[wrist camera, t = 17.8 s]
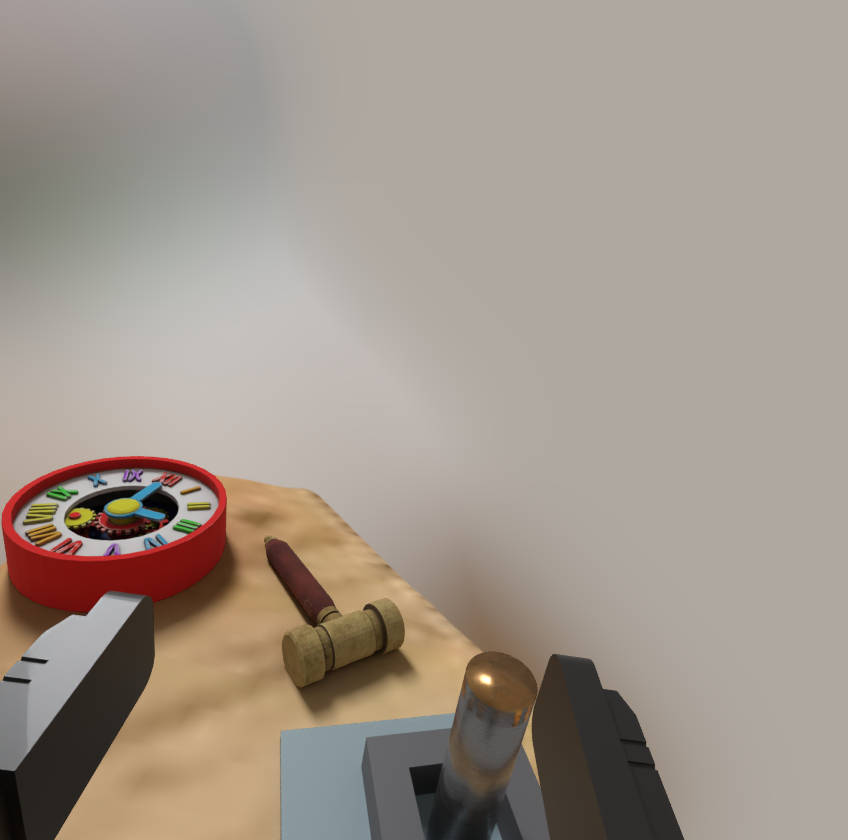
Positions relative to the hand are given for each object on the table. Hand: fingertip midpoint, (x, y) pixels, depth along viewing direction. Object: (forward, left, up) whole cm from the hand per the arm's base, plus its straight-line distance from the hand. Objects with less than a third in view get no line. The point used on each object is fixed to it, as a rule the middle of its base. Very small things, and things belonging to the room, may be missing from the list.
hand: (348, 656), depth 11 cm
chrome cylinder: (+12, +12, -29) cm, 33 cm away
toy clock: (-15, +46, -30) cm, 57 cm away
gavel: (+3, +36, -31) cm, 48 cm away
